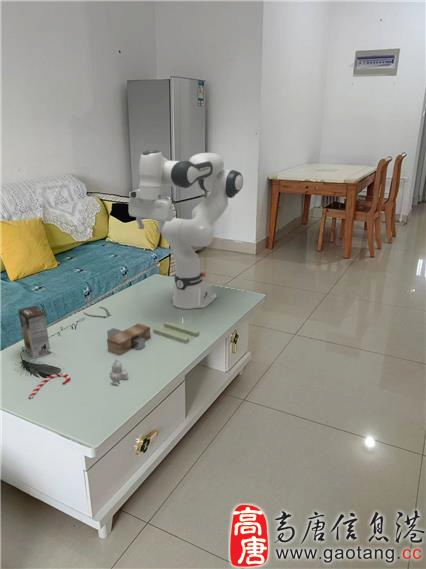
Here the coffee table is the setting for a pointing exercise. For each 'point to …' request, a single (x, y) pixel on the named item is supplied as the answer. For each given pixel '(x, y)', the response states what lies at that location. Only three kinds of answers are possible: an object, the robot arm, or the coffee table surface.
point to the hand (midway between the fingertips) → (150, 230)
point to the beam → (127, 338)
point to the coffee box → (34, 331)
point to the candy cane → (48, 380)
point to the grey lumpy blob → (118, 372)
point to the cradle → (176, 332)
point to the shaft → (136, 341)
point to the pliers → (100, 316)
